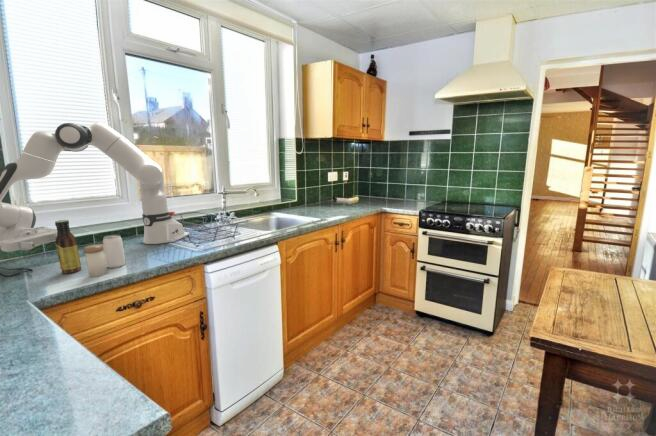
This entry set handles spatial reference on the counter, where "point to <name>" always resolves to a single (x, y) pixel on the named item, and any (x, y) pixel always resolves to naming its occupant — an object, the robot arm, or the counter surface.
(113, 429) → the counter surface
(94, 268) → the spice jar
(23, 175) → the robot arm
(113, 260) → the can
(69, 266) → the sauce bottle
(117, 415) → the counter surface
